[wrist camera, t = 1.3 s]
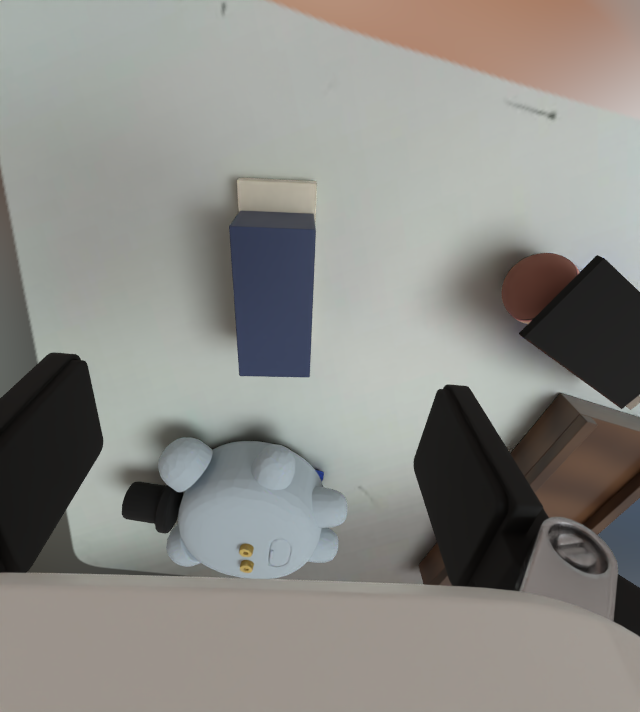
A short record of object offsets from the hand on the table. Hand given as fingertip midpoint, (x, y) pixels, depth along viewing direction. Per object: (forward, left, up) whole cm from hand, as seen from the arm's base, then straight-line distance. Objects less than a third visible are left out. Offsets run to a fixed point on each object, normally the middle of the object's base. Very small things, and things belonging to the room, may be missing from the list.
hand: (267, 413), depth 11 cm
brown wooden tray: (+15, +35, -20) cm, 43 cm away
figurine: (+25, +6, -20) cm, 32 cm away
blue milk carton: (+3, 0, -20) cm, 20 cm away
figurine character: (-5, +22, -20) cm, 30 cm away
